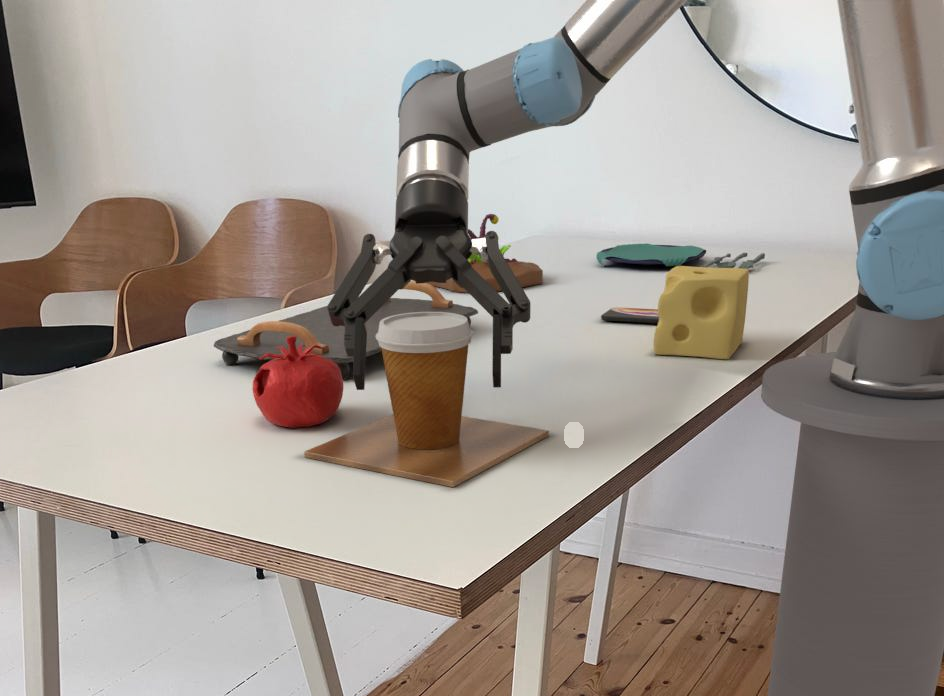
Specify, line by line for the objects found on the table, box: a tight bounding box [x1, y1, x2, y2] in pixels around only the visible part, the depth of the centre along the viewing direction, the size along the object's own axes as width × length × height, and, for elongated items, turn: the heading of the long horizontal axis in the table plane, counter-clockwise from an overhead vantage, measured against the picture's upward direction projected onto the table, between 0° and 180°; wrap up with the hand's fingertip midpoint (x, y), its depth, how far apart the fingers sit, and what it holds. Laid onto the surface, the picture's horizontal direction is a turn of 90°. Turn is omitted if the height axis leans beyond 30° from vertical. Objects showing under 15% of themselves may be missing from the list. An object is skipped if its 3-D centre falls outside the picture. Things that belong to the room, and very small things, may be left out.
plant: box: [427, 213, 544, 294], centre depth 192 cm, size 20×20×11 cm
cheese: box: [653, 265, 750, 360], centre depth 144 cm, size 10×11×10 cm
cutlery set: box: [596, 243, 766, 269], centre depth 205 cm, size 20×30×2 cm, turn 60°
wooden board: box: [303, 413, 550, 488], centre depth 112 cm, size 18×18×1 cm
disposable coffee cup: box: [376, 312, 474, 450], centre depth 109 cm, size 10×10×12 cm
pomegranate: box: [252, 335, 344, 429], centre depth 120 cm, size 10×10×9 cm
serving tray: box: [213, 280, 479, 381], centre depth 152 cm, size 39×23×6 cm, turn 150°
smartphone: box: [600, 307, 659, 324], centre depth 163 cm, size 8×1×15 cm
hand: (427, 382), depth 107 cm, fingers open, 13 cm apart
